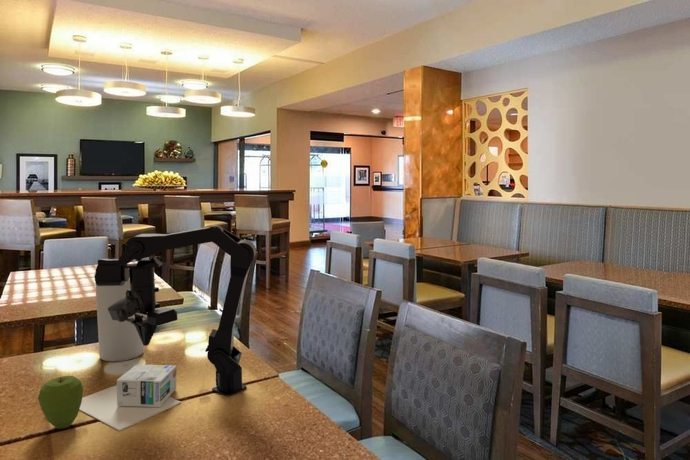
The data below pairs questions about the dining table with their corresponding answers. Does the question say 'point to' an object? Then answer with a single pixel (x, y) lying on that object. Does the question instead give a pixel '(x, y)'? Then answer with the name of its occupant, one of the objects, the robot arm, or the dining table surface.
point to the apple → (61, 400)
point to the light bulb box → (146, 385)
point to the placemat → (119, 409)
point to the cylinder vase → (115, 327)
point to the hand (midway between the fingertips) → (146, 345)
